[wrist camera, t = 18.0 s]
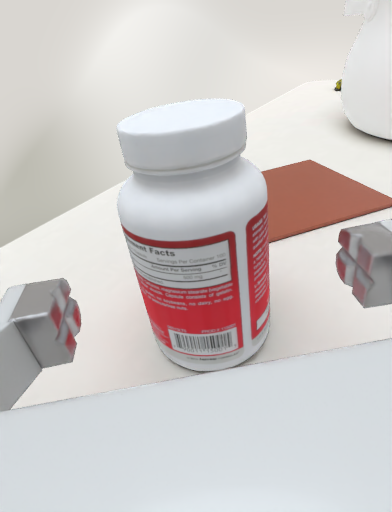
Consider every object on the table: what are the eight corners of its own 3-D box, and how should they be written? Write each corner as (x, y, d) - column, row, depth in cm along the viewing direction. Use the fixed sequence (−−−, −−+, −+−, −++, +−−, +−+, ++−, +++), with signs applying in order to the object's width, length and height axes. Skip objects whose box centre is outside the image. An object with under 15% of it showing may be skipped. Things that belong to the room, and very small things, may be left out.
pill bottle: (225, 277, 22) (205, 90, 16) (295, 334, 17) (307, 101, 11) (137, 322, 19) (73, 122, 13) (192, 401, 15) (134, 152, 9)
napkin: (233, 253, 24) (233, 249, 24) (185, 193, 34) (185, 190, 34) (398, 204, 27) (398, 201, 26) (309, 162, 36) (310, 159, 36)
